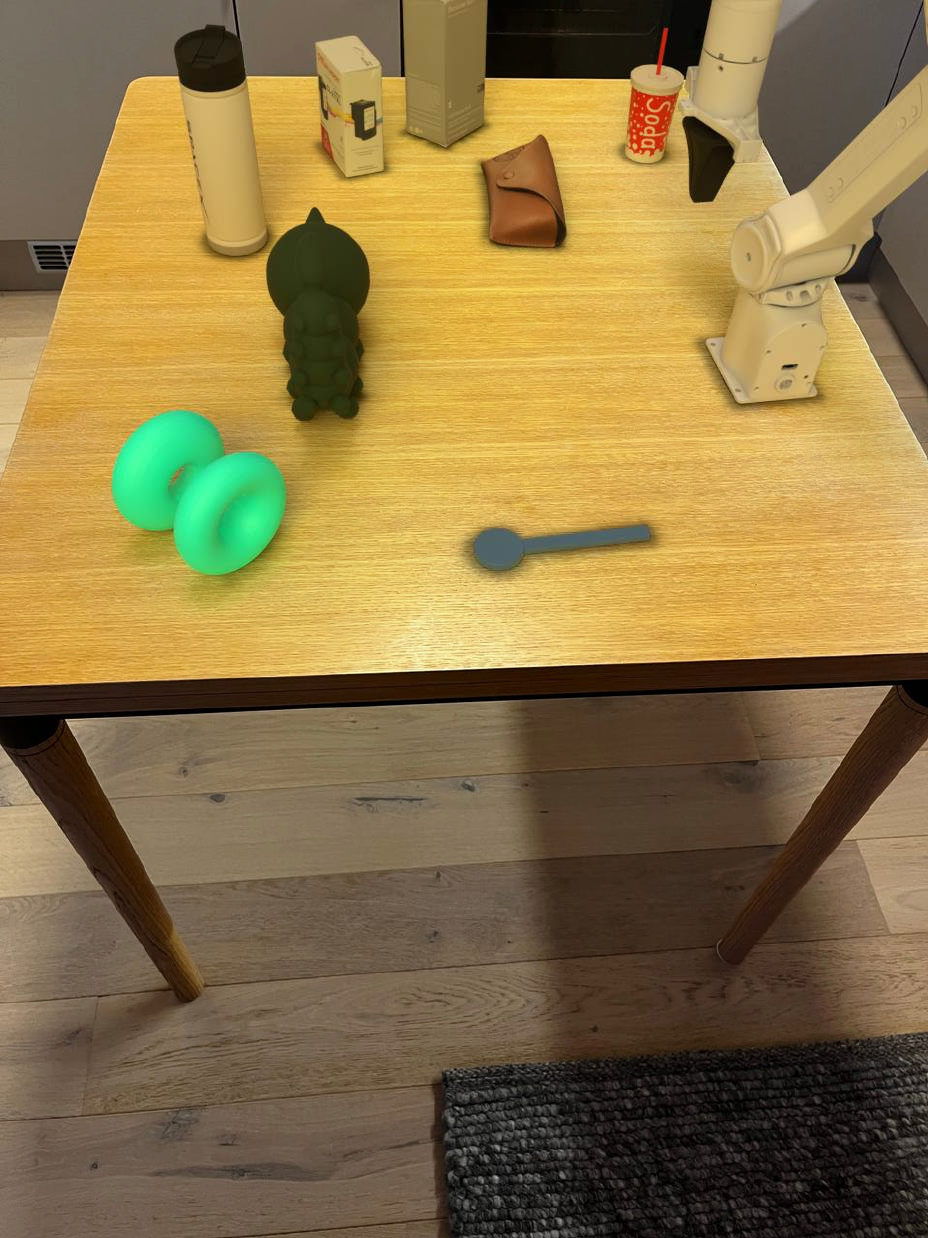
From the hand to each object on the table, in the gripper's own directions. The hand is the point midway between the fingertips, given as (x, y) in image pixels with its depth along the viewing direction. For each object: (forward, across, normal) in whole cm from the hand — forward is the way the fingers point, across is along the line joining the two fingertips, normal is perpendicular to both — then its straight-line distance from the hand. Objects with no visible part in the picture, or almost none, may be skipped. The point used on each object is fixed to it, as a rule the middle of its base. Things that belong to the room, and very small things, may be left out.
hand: (701, 198), depth 97 cm
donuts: (+10, +29, -49) cm, 58 cm away
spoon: (+9, +34, -22) cm, 42 cm away
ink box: (+10, -30, -31) cm, 44 cm away
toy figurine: (+10, +9, -38) cm, 40 cm away
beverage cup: (+10, -27, +4) cm, 29 cm away
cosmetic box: (+10, -36, -19) cm, 42 cm away
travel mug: (+10, -14, -45) cm, 48 cm away
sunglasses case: (+10, -18, -13) cm, 24 cm away
